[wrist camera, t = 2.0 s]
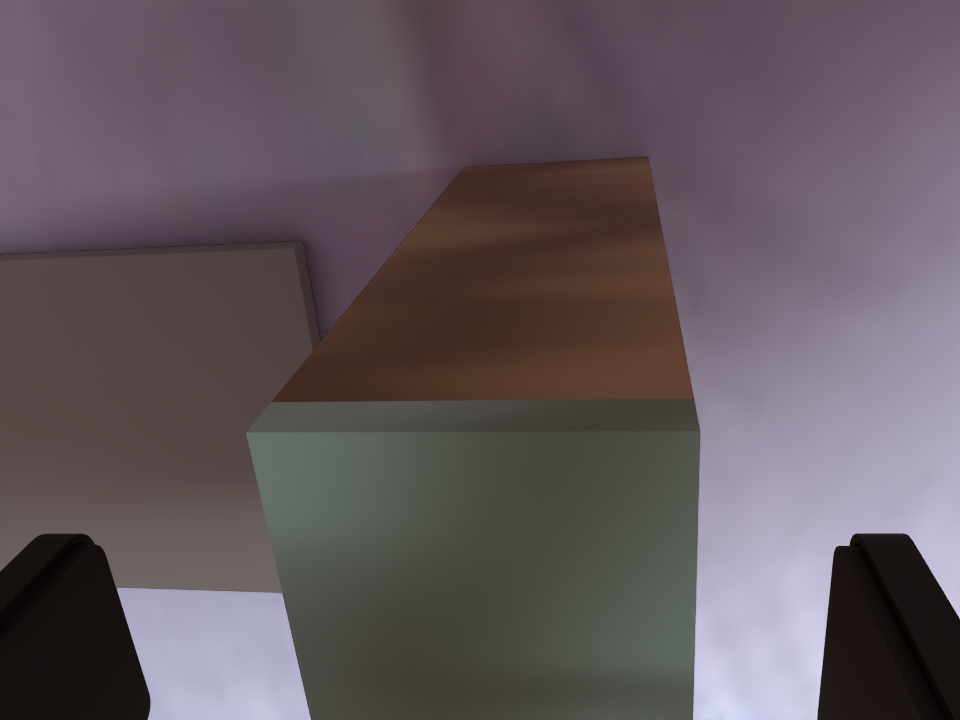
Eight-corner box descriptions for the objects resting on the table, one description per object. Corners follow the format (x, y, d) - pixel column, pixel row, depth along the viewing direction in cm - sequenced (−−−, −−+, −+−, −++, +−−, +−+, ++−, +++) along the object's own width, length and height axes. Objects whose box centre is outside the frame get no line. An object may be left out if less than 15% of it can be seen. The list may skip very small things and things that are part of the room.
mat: (303, 241, 20) (294, 248, 19) (363, 581, 24) (357, 595, 23) (-322, 268, 23) (-345, 275, 22) (-175, 565, 27) (-191, 577, 26)
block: (647, 156, 18) (700, 431, 7) (649, 442, 20) (687, 957, 10) (463, 167, 18) (246, 432, 8) (489, 443, 21) (357, 924, 10)
